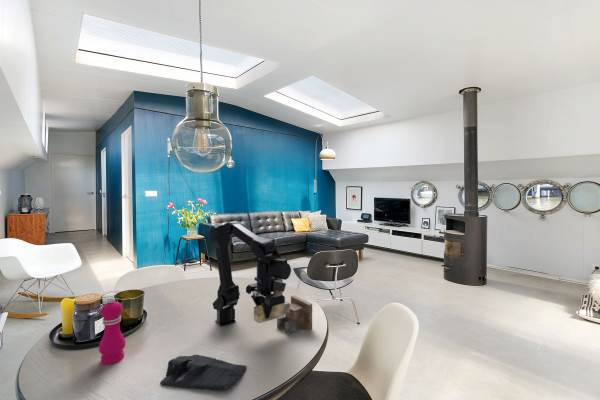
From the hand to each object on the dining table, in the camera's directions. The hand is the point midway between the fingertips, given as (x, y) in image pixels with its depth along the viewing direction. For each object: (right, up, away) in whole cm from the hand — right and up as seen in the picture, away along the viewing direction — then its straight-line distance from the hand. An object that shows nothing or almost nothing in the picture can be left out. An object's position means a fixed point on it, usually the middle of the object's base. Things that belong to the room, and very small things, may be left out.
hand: (264, 316), depth 110 cm
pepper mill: (-47, -8, -15) cm, 50 cm away
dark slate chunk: (-15, -9, -23) cm, 28 cm away
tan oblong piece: (+3, -1, +2) cm, 4 cm away
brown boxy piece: (+11, -7, +8) cm, 16 cm away
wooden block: (-1, -7, +34) cm, 34 cm away
